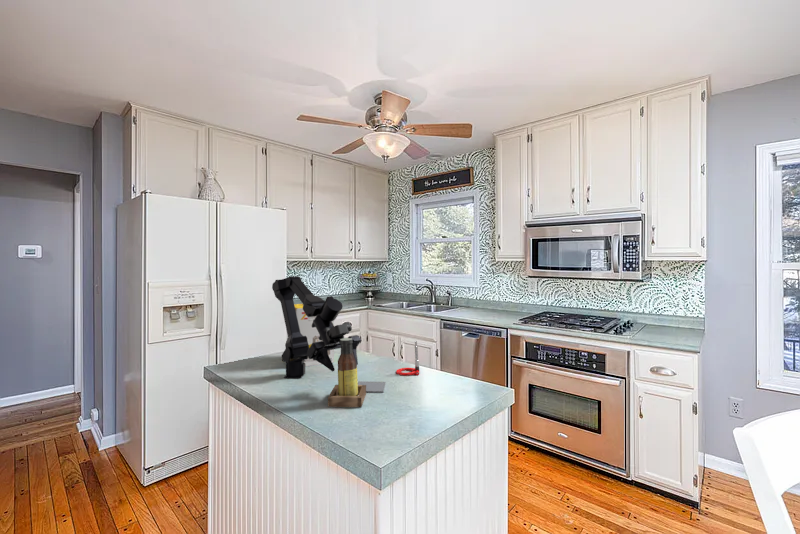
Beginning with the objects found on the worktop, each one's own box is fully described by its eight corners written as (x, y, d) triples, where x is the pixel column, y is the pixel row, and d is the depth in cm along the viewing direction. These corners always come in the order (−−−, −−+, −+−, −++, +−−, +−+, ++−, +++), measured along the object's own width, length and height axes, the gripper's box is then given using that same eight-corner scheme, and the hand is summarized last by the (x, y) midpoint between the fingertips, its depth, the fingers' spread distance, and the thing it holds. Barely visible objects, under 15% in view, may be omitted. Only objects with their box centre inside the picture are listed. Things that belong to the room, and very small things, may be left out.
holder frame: (327, 406, 114) (327, 397, 114) (335, 393, 126) (335, 384, 126) (361, 407, 114) (361, 397, 114) (366, 393, 125) (366, 385, 125)
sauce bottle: (361, 397, 122) (361, 337, 121) (352, 404, 116) (352, 341, 116) (343, 395, 124) (343, 336, 124) (334, 402, 118) (334, 340, 118)
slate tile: (354, 392, 127) (354, 390, 127) (358, 382, 137) (358, 381, 137) (383, 392, 127) (383, 391, 127) (385, 383, 137) (385, 381, 137)
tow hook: (395, 376, 145) (419, 376, 145) (394, 344, 145) (417, 343, 145) (397, 370, 154) (419, 369, 153) (395, 339, 154) (417, 338, 153)
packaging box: (296, 368, 156) (296, 308, 155) (288, 358, 170) (287, 304, 170) (333, 362, 164) (333, 306, 163) (322, 354, 178) (322, 302, 177)
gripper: (311, 317, 118) (331, 358, 110) (357, 312, 131) (378, 348, 123) (299, 339, 124) (317, 379, 116) (344, 331, 137) (363, 367, 129)
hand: (345, 367), depth 121 cm, fingers open, 9 cm apart
